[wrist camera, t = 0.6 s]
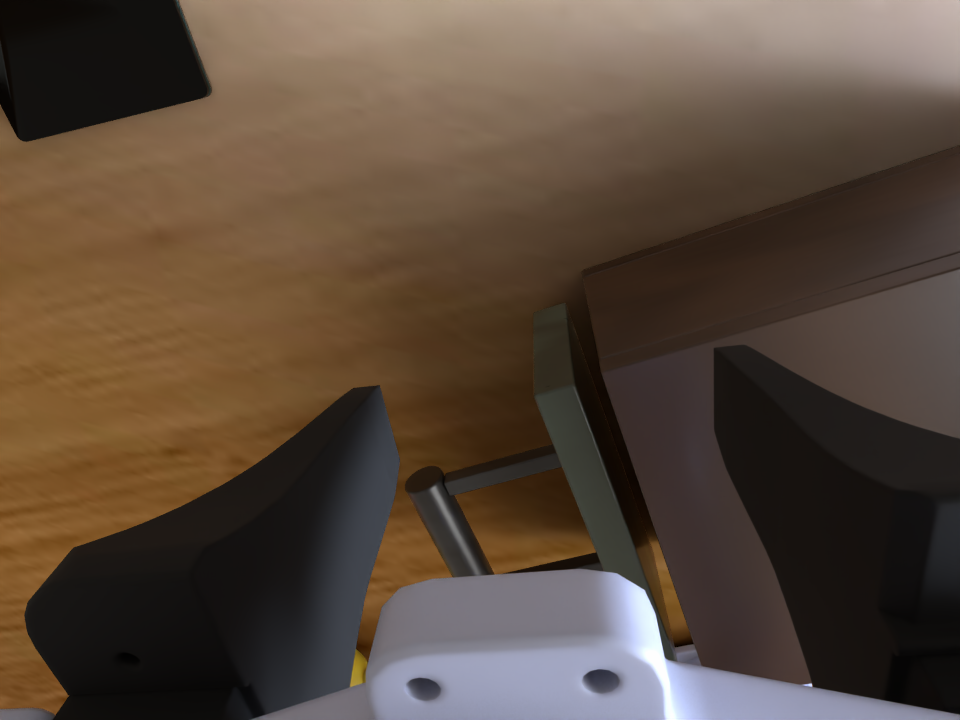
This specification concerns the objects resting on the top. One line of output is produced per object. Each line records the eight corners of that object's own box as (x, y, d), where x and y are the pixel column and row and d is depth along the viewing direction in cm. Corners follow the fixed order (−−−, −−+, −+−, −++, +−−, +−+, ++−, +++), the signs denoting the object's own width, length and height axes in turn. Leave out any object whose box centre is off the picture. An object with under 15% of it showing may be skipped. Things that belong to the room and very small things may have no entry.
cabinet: (671, 543, 28) (713, 700, 22) (581, 270, 23) (600, 372, 16) (1071, 453, 25) (1262, 608, 18) (1080, 104, 19) (1357, 151, 13)
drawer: (500, 585, 29) (494, 704, 24) (386, 358, 24) (348, 449, 19) (998, 474, 25) (1118, 592, 20) (987, 165, 20) (1143, 219, 15)
